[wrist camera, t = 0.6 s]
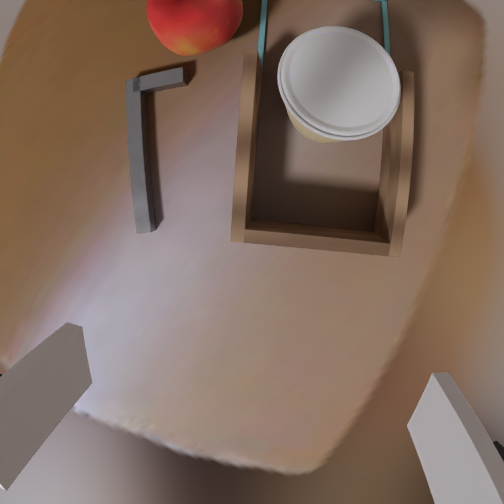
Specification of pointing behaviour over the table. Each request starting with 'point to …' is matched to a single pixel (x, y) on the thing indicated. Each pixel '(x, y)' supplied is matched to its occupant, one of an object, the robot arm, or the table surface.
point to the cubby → (317, 237)
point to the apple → (194, 23)
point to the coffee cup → (338, 84)
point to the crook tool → (145, 140)
